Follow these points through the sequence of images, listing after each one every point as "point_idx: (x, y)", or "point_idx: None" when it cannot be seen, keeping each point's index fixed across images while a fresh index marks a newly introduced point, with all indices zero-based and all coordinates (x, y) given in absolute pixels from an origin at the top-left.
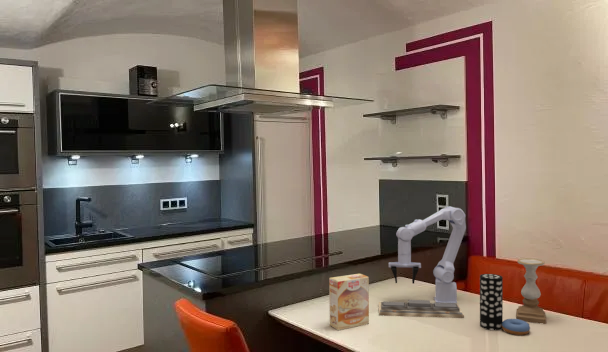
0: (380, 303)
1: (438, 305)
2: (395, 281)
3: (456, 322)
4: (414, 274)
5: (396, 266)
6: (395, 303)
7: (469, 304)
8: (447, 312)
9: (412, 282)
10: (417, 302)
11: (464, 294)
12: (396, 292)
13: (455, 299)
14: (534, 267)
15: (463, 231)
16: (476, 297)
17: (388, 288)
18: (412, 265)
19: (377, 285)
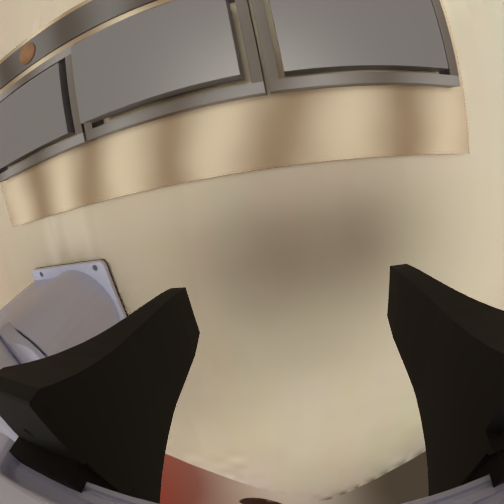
0: (456, 119)
1: (44, 91)
2: (418, 271)
3: (22, 4)
4: (94, 348)
5: (483, 490)
6: (349, 23)
7: (6, 268)
8: (26, 52)
9: (189, 311)
10: (155, 29)
11: None
12: (341, 396)
13: (31, 285)
14: None
15: None
16: None
17: (371, 429)
18: (28, 497)
19: (409, 442)
